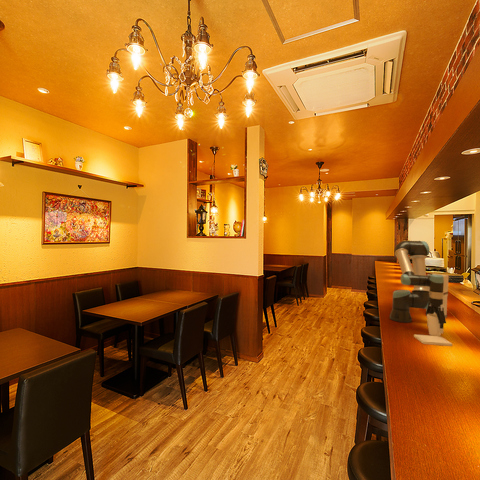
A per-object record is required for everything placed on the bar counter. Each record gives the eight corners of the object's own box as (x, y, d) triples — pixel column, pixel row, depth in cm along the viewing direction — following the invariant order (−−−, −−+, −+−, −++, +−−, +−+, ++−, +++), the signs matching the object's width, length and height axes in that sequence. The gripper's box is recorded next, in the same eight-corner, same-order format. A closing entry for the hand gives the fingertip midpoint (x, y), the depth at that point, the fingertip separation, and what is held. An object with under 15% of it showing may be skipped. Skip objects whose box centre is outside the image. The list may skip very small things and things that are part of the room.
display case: (447, 317, 224) (448, 275, 223) (441, 319, 218) (443, 276, 217) (431, 313, 233) (432, 273, 233) (425, 315, 227) (427, 274, 227)
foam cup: (446, 338, 176) (447, 318, 176) (430, 336, 178) (431, 317, 178) (438, 333, 185) (439, 314, 185) (423, 331, 187) (424, 313, 187)
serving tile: (413, 336, 177) (413, 334, 177) (440, 338, 175) (440, 336, 175) (423, 343, 165) (423, 341, 165) (452, 346, 163) (452, 343, 163)
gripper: (420, 293, 194) (419, 323, 194) (440, 301, 169) (439, 335, 170) (432, 294, 193) (431, 324, 193) (453, 302, 168) (452, 336, 169)
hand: (434, 329), depth 181 cm, fingers open, 12 cm apart
